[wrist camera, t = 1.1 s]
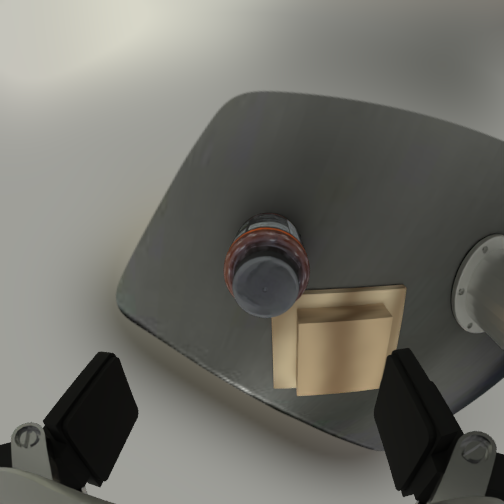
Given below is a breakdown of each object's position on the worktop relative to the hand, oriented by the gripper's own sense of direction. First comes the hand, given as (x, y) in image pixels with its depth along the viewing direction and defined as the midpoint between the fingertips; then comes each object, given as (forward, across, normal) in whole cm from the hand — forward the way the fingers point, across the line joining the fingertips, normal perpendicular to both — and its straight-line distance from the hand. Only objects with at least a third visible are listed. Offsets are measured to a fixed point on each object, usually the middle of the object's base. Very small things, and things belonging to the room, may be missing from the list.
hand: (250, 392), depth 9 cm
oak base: (+20, -7, +11) cm, 24 cm away
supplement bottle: (+20, 0, 0) cm, 20 cm away
